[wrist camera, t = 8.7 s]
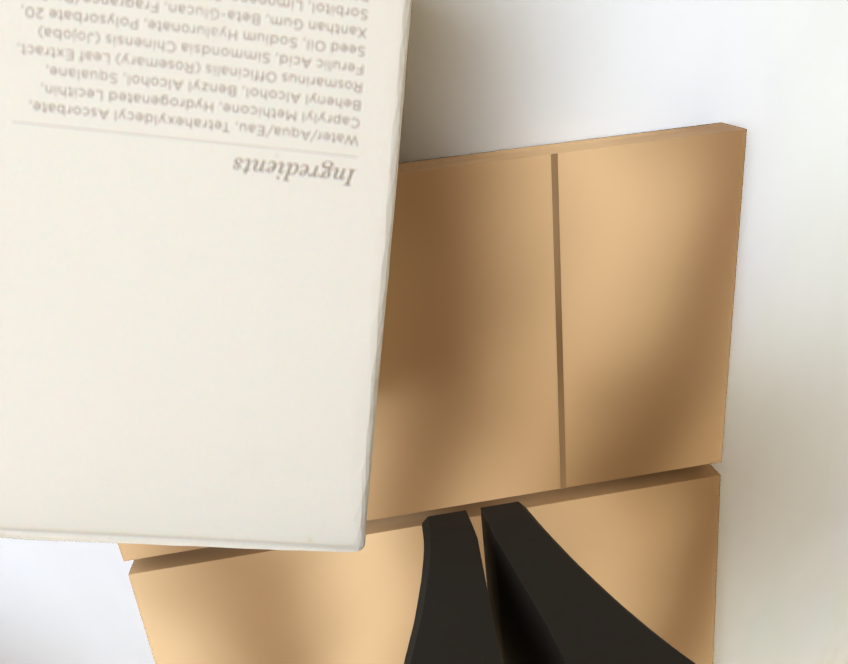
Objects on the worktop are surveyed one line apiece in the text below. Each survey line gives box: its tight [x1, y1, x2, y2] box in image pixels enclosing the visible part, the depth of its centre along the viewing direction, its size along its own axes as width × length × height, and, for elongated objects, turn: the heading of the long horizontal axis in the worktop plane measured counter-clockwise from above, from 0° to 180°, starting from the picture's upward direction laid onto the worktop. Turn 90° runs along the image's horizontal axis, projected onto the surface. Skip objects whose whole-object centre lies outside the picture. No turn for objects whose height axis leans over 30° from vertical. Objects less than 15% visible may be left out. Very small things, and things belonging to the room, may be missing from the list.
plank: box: [129, 464, 720, 664], centre depth 24 cm, size 18×10×1 cm, turn 96°
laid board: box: [118, 123, 747, 561], centre depth 20 cm, size 18×10×1 cm, turn 96°
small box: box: [0, 0, 412, 552], centre depth 14 cm, size 8×6×10 cm
